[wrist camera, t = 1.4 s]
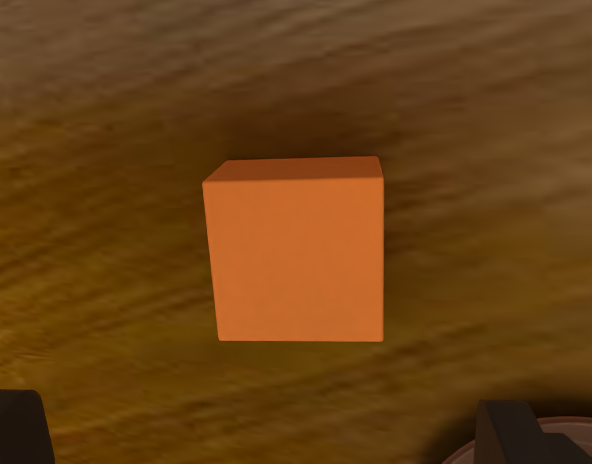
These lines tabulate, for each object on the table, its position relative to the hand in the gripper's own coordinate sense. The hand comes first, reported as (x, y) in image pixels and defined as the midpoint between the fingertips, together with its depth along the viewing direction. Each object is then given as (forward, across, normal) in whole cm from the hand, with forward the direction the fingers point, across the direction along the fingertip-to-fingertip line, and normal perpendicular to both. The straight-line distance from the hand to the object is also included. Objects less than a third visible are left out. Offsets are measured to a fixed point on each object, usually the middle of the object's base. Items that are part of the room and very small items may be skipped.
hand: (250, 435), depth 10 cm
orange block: (+11, 0, 0) cm, 11 cm away
